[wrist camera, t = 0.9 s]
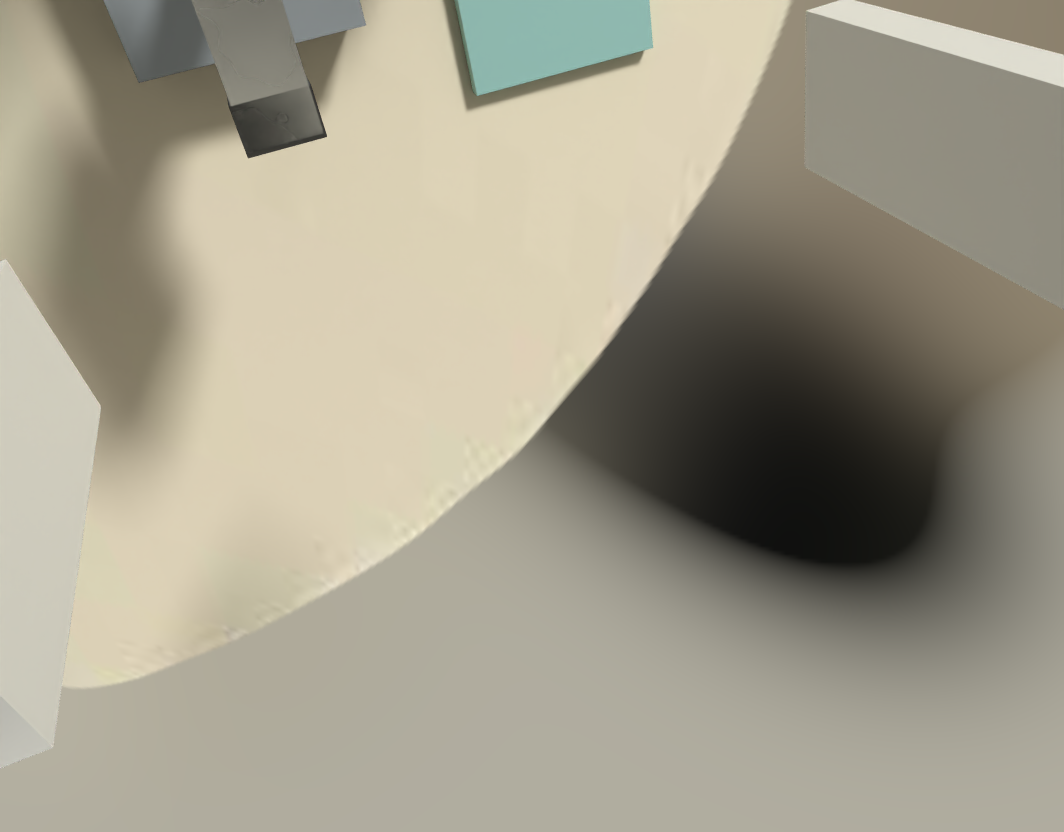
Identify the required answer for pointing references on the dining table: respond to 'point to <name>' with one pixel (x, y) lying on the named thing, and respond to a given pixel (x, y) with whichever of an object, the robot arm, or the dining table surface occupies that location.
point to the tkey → (261, 73)
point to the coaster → (546, 37)
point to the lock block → (179, 42)
